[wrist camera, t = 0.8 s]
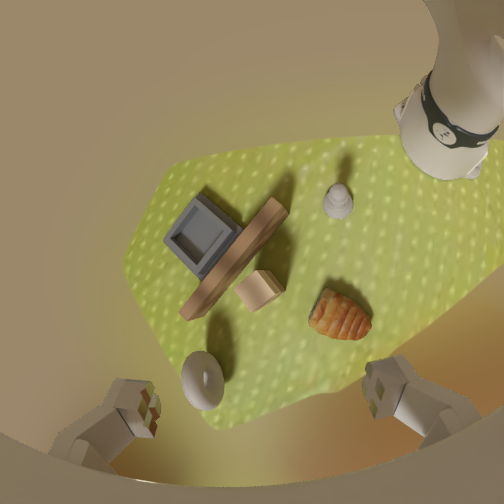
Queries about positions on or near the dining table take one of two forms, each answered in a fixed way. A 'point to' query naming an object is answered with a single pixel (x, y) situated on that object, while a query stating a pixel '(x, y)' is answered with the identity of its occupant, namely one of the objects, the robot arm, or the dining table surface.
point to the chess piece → (338, 202)
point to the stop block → (259, 289)
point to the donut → (202, 380)
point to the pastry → (339, 317)
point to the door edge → (235, 260)
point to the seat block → (202, 235)
